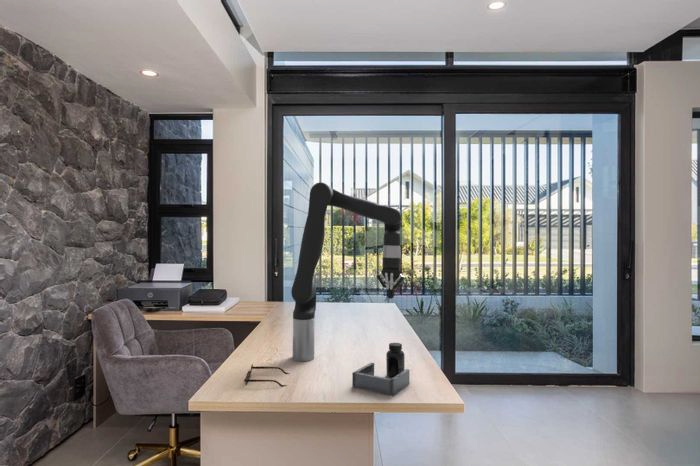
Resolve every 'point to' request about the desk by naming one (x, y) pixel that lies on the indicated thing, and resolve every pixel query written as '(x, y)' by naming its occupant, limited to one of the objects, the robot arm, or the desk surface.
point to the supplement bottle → (395, 360)
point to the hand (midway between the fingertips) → (390, 298)
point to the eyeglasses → (262, 380)
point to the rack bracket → (379, 381)
